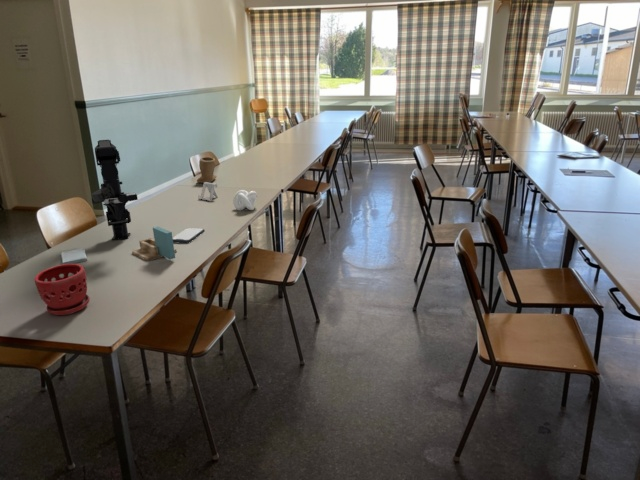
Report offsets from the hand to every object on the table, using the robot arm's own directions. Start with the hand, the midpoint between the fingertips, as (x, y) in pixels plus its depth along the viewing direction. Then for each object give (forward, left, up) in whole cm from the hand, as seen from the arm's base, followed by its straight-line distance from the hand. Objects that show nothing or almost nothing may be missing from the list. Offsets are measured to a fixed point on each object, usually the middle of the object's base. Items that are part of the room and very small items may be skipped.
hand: (118, 220), depth 186 cm
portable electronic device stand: (-70, +30, -12) cm, 77 cm away
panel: (+14, +18, -11) cm, 25 cm away
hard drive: (+5, -17, -13) cm, 22 cm away
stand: (+7, +13, -12) cm, 19 cm away
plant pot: (+48, -6, -12) cm, 50 cm away
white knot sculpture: (-44, +49, -12) cm, 67 cm away
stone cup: (-113, +27, -12) cm, 117 cm away
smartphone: (-10, +24, -13) cm, 29 cm away
